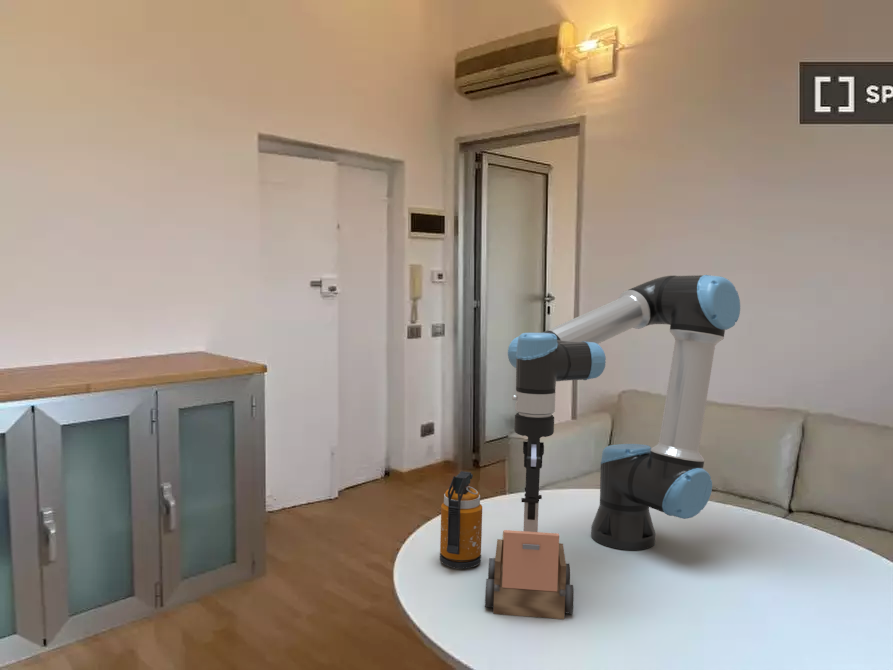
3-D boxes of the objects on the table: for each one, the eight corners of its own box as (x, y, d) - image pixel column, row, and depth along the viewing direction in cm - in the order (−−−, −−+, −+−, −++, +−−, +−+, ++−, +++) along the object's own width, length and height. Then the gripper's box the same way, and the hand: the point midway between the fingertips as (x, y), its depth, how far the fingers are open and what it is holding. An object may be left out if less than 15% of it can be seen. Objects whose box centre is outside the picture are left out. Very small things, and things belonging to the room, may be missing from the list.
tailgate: (556, 588, 124) (558, 533, 123) (557, 592, 122) (559, 536, 122) (502, 584, 125) (504, 529, 124) (502, 588, 124) (503, 533, 123)
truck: (567, 582, 139) (569, 534, 139) (573, 621, 123) (575, 568, 122) (489, 576, 141) (490, 529, 140) (484, 614, 125) (486, 561, 124)
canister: (485, 558, 151) (488, 470, 149) (471, 578, 140) (473, 483, 139) (447, 552, 154) (449, 465, 152) (430, 571, 143) (432, 478, 142)
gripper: (515, 406, 136) (511, 520, 138) (514, 419, 123) (510, 545, 125) (553, 408, 135) (548, 523, 137) (555, 421, 122) (551, 547, 124)
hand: (530, 533), depth 131 cm, fingers closed
